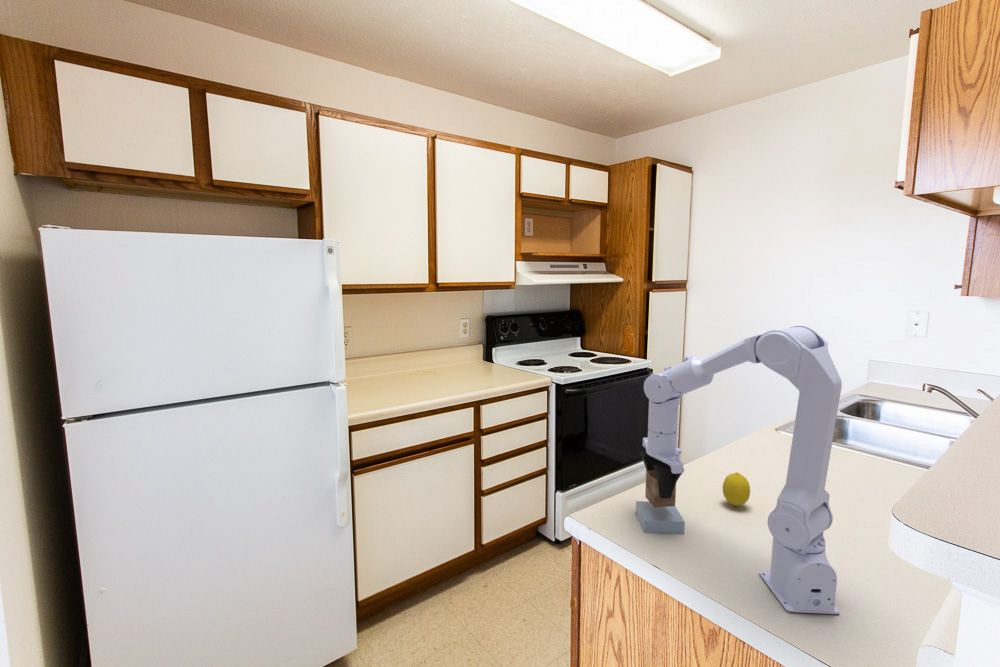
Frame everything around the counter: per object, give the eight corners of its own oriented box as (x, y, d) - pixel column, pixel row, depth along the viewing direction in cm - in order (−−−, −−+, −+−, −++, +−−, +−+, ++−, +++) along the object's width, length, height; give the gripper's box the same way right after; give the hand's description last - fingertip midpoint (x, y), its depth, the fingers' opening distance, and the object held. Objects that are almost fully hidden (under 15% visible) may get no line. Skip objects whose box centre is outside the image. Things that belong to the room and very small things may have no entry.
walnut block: (675, 506, 96) (676, 478, 95) (654, 507, 95) (655, 479, 94) (665, 495, 100) (666, 469, 99) (645, 496, 100) (646, 470, 99)
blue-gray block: (684, 535, 94) (684, 521, 94) (644, 534, 95) (644, 520, 94) (672, 515, 102) (672, 502, 102) (635, 513, 103) (635, 501, 102)
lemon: (752, 513, 101) (754, 479, 100) (725, 511, 103) (727, 477, 101) (744, 501, 107) (746, 468, 106) (718, 499, 108) (720, 466, 107)
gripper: (699, 441, 89) (695, 507, 91) (665, 417, 103) (662, 475, 105) (664, 443, 88) (661, 509, 90) (634, 419, 102) (632, 477, 104)
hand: (659, 491), depth 97 cm, fingers closed on walnut block, 4 cm apart
